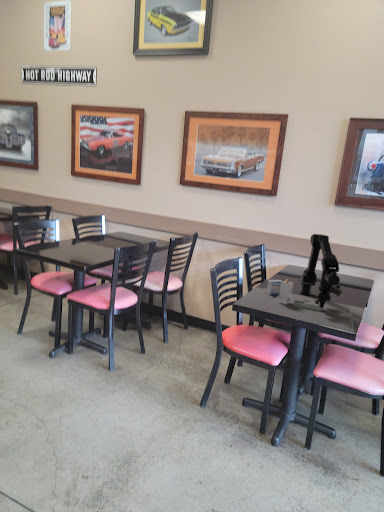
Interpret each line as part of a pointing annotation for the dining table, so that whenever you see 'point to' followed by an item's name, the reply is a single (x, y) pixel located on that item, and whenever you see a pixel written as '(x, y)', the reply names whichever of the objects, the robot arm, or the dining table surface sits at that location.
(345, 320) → the dining table surface
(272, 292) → the medicine box
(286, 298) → the housing
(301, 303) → the press bed
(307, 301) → the ram
